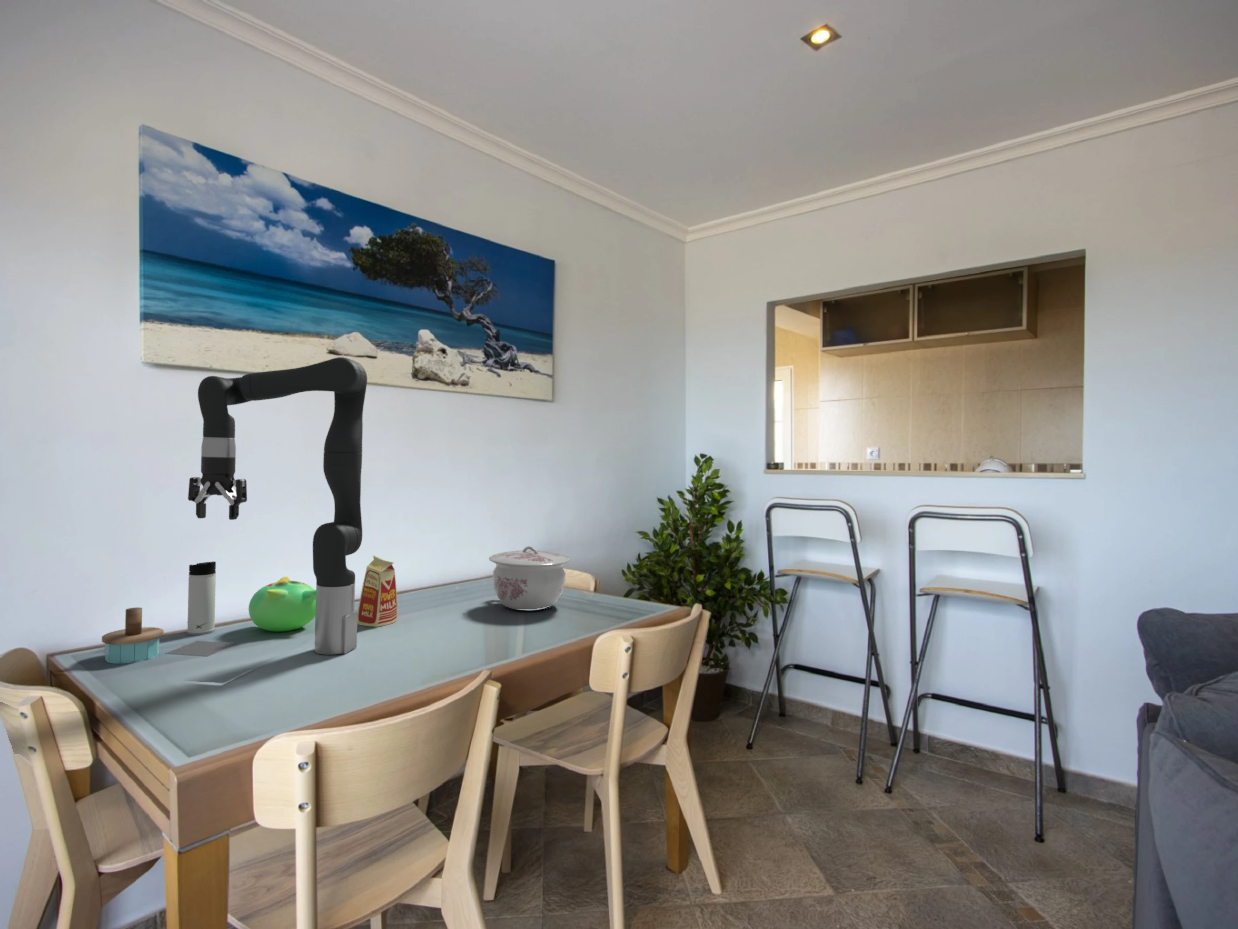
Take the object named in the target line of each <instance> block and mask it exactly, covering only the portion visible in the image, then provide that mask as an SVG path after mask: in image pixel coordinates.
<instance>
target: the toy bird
mask: <svg viewBox="0 0 1238 929" xmlns="http://www.w3.org/2000/svg"><path fill="white" fill-rule="evenodd" d="M248 615H249V618H250V620H251V622H253V624H255V625H256V626H257V627H258V628H260V629H262V630H264V631H268V632H272V633H273V632H276V633H282V632H290V631H294V630H297V629H300V628H302V627H304V626H306V625H307V624H309V623H311V622H312V621H313V620H314V619H315V615H316V589H314V587H312V586H311V585H309V584H308V583H305V582H301V581H297V580H290V578H289V577H288V576H282V577H281V578H280V579H279V580H277V581H276V582H271V583H269V584H267V585H265V586H263V587H261V588H260V589H258V590H257V591H256V592H255V593H254V594H253V595H252V597H251V599H250V601H249V603H248Z"/></svg>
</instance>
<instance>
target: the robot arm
mask: <svg viewBox="0 0 1238 929" xmlns="http://www.w3.org/2000/svg"><path fill="white" fill-rule="evenodd" d="M367 384H368V375H367V371H366V370H365V368H364V366H363V365H362V364H361V363H359V362H357V361H356V360H353V359H351V358H347V357H344V356H338V357H335V358H331V359H327V360H324V361H320V362H317V363H314V364H310V365H306V366H300V367H295V368H294V367H293V368H287V369H276V370H267V371H260V372H259V371H258V372H251V373H247V374H244V375H241V376H239V377H232V378H231V377H230V378H229V377H228V378H227V377H222V376H216V375H209V376H206V377H204V378H203V379H201V381H200V383H199V385H198V388H197V398H198V404H199V408H200V413H201V417H202V420H203V422H202V423H203V425H202V442H201V448H200V452H201V455H200V456H201V458H200V472H201V474H202V475H201V477H199V476H198V477H197V476H191V477H190V478H189V479H188V480H189V481H188V482H189V483H188V493H187V500H188V501H189V502H193V503H195V515H196V517H197V519H205V518H206V516H207V503H206V502H207V500H208V499H209V498H210V497H211V496H223V498H224V499H226V500H227V502H228V503H229V504H230V505H228V519H229V520H231V521H232V520H234V521H235V520H237V519H238V517H239V515H240V504H243V503H246V502H247V501H248V492H247V491H248V490H247V485H248V484H247V479H245V478H239V479H235V473H236V455H237V454H236V453H237V452H236V450H237V448H236V421H235V418H234V417H233V416H232V415H231V414H230V412H229V409H228V406H236V405H240V404H245V403H248V402H249V403H250V402H253V401H254V402H257V401H265V400H272V399H279V398H283V397H285V398H286V397H288V396H292V395H295V394H300V393H304V392H317V391H318V392H333V393H334V394H333V396H334V410H333V416H332V420H331V423H330V426H329V429H328V431H327V434H326V436H325V437H326V438H325V441H324V445H323V446H324V447H323V459H322V460H323V466H322V468H323V474H324V477H325V480H326V482H327V484H328V487H329V489H330V491H331V494H332V496H333V502H334V513H333V514H334V516H333V521H331V522H325V523H323V524H320V525H319V526H318V527H317V528H316V530H315V532H314V534H313V538H312V570H313V575H314V576H315V580H316V586H315V588H316V589H315V590H316V615H315V617H314V619H315V621H314V623H315V624H314V652H315V653H316V654H318V655H319V654H320V655H326V656H327V655H338V654H339V655H344V654H345V655H346V654H347V653H349V652H351V651H352V650H354V649H356V648H357V647H358V646H357V644H358V643H357V642H358V640H357V639H358V638H357V637H358V624H357V612H358V610H355V600H356V599H355V596H356V595H355V594H356V593H355V592H356V573H355V572H354V571H353V570H350V569H349V568H348V567H347V556H350V555H353V554H355V553H356V552H357V551H359V549H360V547H361V545H362V541H363V523H362V522H363V521H362V510H361V507H362V506H361V495H362V494H361V493H362V490H361V488H362V486H361V484H362V469H363V468H362V466H363V464H362V463H363V433H364V432H363V431H364V430H363V428H364V427H363V423H364V422H363V414H364V406H365V399H366V392H367ZM201 486H202V488H201ZM234 487H235V489H234Z"/></svg>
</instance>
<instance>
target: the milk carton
mask: <svg viewBox="0 0 1238 929" xmlns="http://www.w3.org/2000/svg"><path fill="white" fill-rule="evenodd" d="M372 558H373V560H372V561H370V562H369V564H368V565H366V569H365V574H364V578H363V582H362V586H361V587H362V588H361V591H360V596H359V601H358V606H357V625H361V626H364V627H365V626H366V627H374V628H377V627H382V626H387V625H390V624H393V623H394V624H395V622H397V621H398V620H399V619H398V618H399V617H398V616H399V615H398V612H399V611H398V595H397V594H398V591H397V580H396V572H395V570H396V569H395V567H394V565H393V564H394V563H395V562H394V561H393V562H392V561H389V560H387V559H383V558H381V557H378V556H376V555H372Z"/></svg>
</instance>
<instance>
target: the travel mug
mask: <svg viewBox="0 0 1238 929" xmlns="http://www.w3.org/2000/svg"><path fill="white" fill-rule="evenodd" d="M216 566H217V563H216V561H206V562H205V561H204V562H199V563H198V562H197V563H196V564H189V566H188V571H189V572H188V586H187V587H188V590H187V594H188V597H187V633H188V634H189V635H188V634H187V635H188V636H205V635H209V634H212V633H214V632H215V622H216V621H215V619H216V587H217V586H216V585H217V584H216V581H217V580H216V579H217V578H216V572H217V571H216V569H217V567H216Z"/></svg>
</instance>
